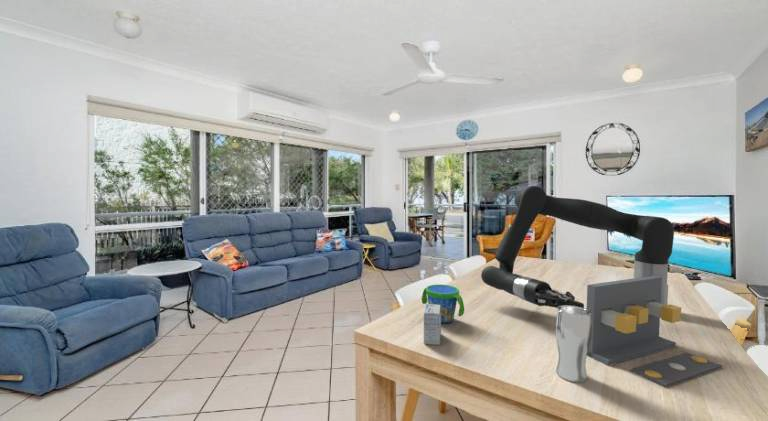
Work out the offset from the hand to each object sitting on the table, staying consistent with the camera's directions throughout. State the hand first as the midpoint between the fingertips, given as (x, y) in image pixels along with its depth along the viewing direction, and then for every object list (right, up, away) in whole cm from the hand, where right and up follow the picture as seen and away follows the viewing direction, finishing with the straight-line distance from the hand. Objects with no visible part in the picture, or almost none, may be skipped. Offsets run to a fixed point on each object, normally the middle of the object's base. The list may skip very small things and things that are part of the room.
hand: (582, 307), depth 90 cm
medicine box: (-40, -10, +3) cm, 41 cm away
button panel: (+10, -10, -1) cm, 15 cm away
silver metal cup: (-11, -11, -15) cm, 22 cm away
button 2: (+20, -2, 0) cm, 20 cm away
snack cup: (-35, -9, +17) cm, 40 cm away
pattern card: (+15, -11, -12) cm, 22 cm away
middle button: (+10, -2, -1) cm, 11 cm away
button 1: (+3, -2, -7) cm, 8 cm away
